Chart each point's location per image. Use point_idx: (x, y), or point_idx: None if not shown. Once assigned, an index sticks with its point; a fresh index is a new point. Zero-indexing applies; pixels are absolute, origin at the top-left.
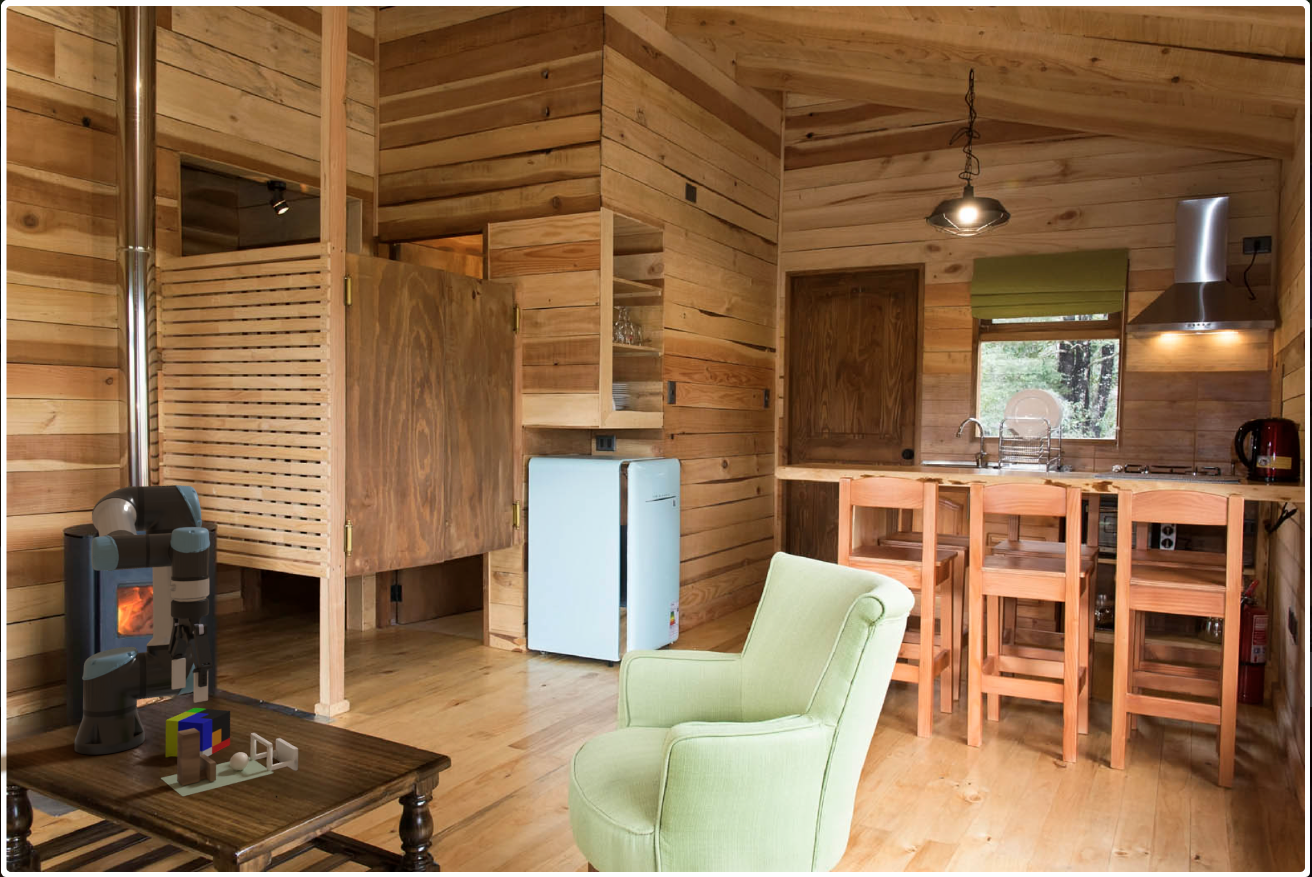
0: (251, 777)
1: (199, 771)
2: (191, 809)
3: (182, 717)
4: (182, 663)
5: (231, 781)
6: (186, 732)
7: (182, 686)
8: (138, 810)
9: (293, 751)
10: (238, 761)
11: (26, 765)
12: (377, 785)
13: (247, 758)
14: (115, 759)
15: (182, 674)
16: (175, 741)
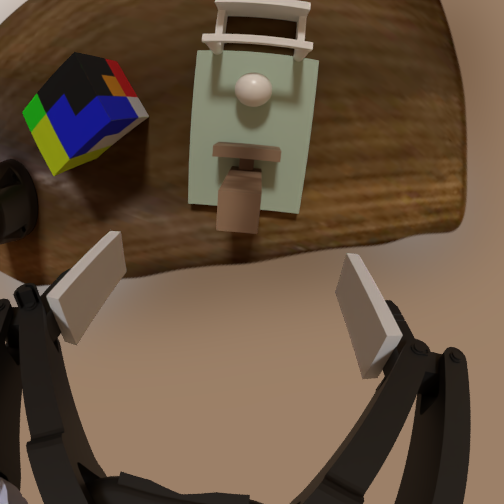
0: (309, 96)
1: (261, 172)
2: (329, 211)
3: (54, 145)
4: (73, 298)
5: (300, 128)
6: (240, 219)
7: (119, 244)
8: (270, 259)
9: (307, 10)
10: (268, 97)
11: (41, 282)
12: (444, 16)
13: (267, 78)
14: (55, 209)
15: (97, 268)
16: (89, 154)
